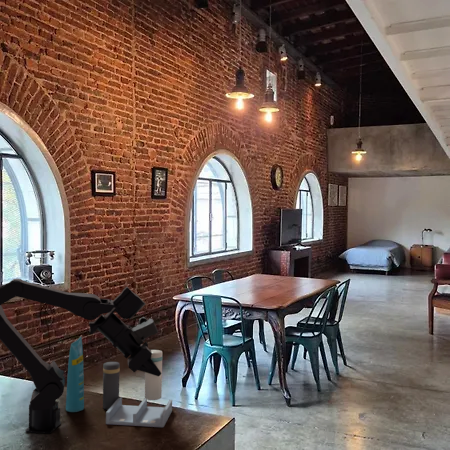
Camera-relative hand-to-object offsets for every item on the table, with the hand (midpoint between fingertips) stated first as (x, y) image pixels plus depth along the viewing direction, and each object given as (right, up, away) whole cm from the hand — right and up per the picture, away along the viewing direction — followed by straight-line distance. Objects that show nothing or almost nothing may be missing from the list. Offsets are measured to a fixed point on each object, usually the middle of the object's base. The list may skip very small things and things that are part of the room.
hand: (158, 372), depth 132 cm
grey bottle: (-14, -12, +7) cm, 20 cm away
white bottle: (-1, -7, 0) cm, 7 cm away
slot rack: (-5, -12, 0) cm, 13 cm away
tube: (-24, -12, +5) cm, 27 cm away
